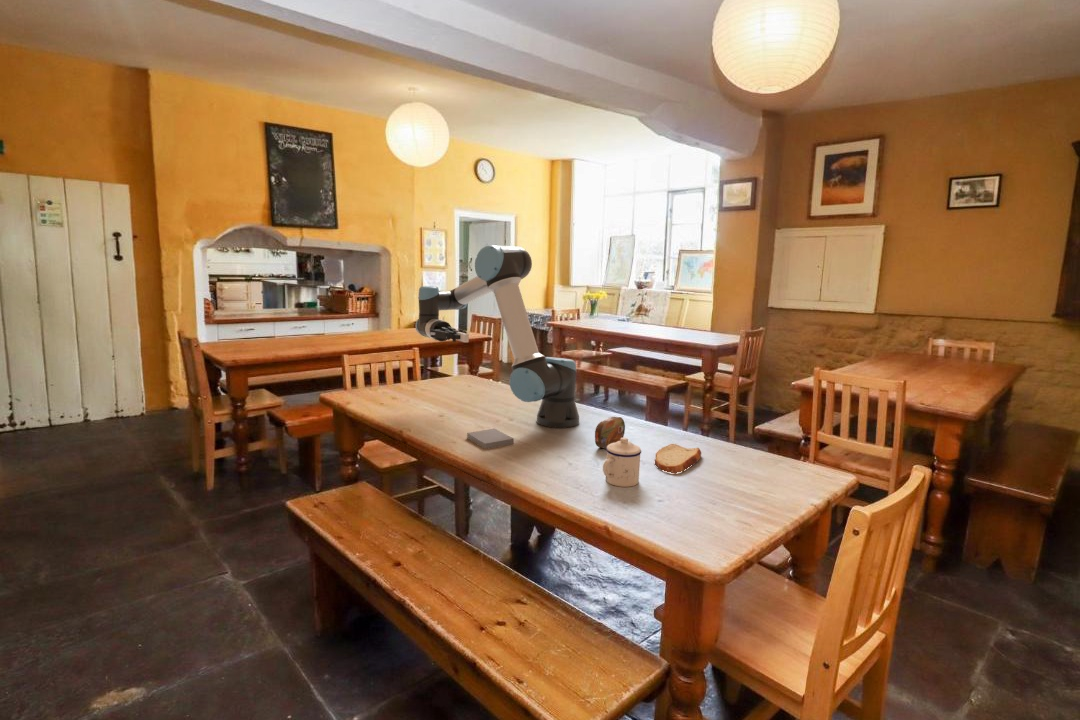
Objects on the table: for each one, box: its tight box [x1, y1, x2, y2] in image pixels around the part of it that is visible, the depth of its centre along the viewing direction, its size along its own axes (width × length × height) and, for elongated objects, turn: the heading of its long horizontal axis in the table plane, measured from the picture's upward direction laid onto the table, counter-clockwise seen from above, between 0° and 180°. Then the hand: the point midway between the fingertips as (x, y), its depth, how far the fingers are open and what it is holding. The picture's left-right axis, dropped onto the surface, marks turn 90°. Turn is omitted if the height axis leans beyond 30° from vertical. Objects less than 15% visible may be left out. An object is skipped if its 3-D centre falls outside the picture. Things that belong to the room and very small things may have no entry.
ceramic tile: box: [466, 428, 514, 450], centre depth 176 cm, size 2×10×12 cm
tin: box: [594, 416, 626, 450], centre depth 175 cm, size 15×3×8 cm, turn 143°
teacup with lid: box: [602, 437, 642, 488], centre depth 145 cm, size 12×9×12 cm
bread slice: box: [654, 443, 702, 473], centre depth 163 cm, size 18×18×4 cm
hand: (466, 338), depth 189 cm, fingers closed
